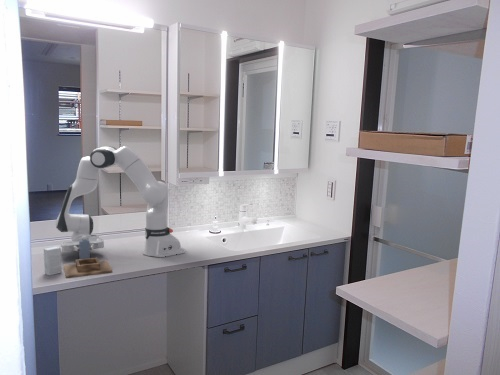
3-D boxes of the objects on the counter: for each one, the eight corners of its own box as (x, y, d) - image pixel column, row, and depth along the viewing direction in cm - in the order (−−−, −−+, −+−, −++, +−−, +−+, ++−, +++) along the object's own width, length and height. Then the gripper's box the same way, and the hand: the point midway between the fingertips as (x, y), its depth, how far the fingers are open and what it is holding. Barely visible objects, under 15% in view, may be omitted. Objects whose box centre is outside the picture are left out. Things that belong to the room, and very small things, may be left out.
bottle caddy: (107, 262, 209) (107, 254, 208) (112, 272, 195) (112, 264, 194) (63, 267, 200) (63, 259, 199) (66, 278, 185) (65, 269, 185)
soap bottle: (88, 259, 212) (88, 234, 211) (89, 262, 208) (89, 237, 207) (79, 260, 210) (78, 235, 209) (80, 263, 206) (79, 237, 205)
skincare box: (57, 270, 195) (56, 245, 193) (61, 272, 192) (60, 247, 190) (44, 273, 190) (43, 248, 188) (48, 276, 187) (47, 250, 186)
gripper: (60, 238, 215) (61, 245, 203) (101, 234, 224) (105, 241, 212) (60, 250, 216) (62, 257, 203) (101, 246, 225) (105, 253, 213)
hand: (84, 249), depth 208 cm, fingers closed on soap bottle, 4 cm apart
